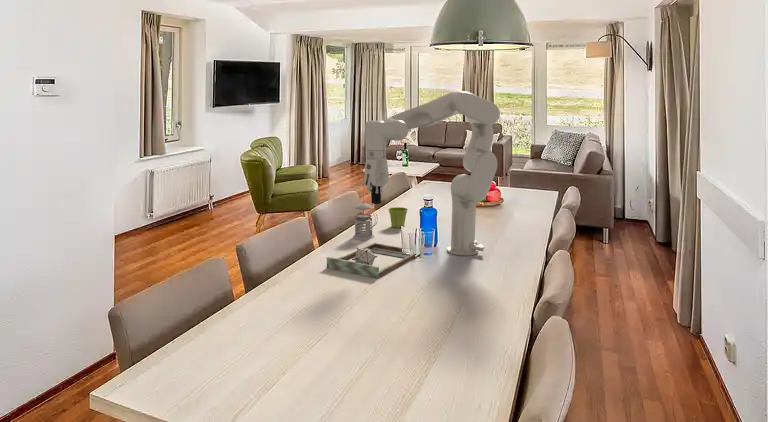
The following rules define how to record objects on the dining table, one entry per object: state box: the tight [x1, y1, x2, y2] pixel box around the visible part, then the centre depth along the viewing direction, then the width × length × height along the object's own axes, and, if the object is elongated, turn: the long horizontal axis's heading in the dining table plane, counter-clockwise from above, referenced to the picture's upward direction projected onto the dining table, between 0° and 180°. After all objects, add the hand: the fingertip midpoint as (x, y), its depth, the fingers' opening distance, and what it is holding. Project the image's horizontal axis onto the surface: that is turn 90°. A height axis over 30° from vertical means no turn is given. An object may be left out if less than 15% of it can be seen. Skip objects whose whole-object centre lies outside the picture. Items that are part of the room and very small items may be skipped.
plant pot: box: [387, 206, 409, 229], centre depth 256 cm, size 9×9×9 cm
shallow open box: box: [326, 242, 416, 279], centre depth 204 cm, size 22×33×4 cm
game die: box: [351, 245, 378, 266], centre depth 195 cm, size 9×8×10 cm
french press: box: [352, 181, 379, 241], centre depth 236 cm, size 10×12×25 cm
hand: (376, 203), depth 200 cm, fingers closed
